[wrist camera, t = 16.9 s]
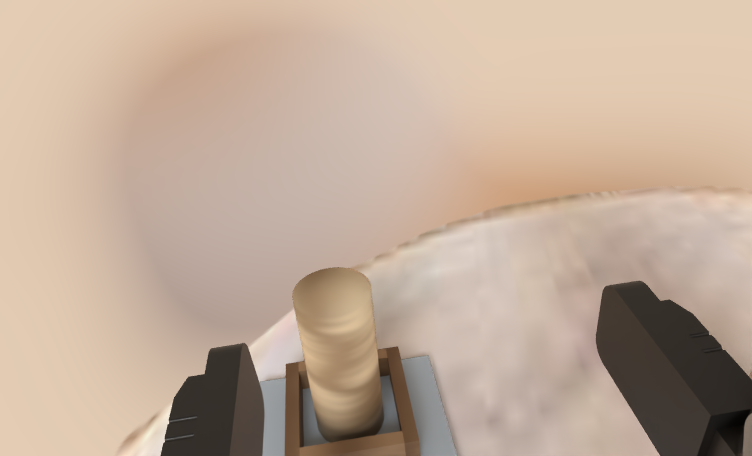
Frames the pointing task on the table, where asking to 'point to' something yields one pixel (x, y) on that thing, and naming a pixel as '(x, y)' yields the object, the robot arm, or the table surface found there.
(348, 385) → the maple pillar
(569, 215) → the table surface
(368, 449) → the socket collar
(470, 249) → the table surface
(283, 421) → the board
